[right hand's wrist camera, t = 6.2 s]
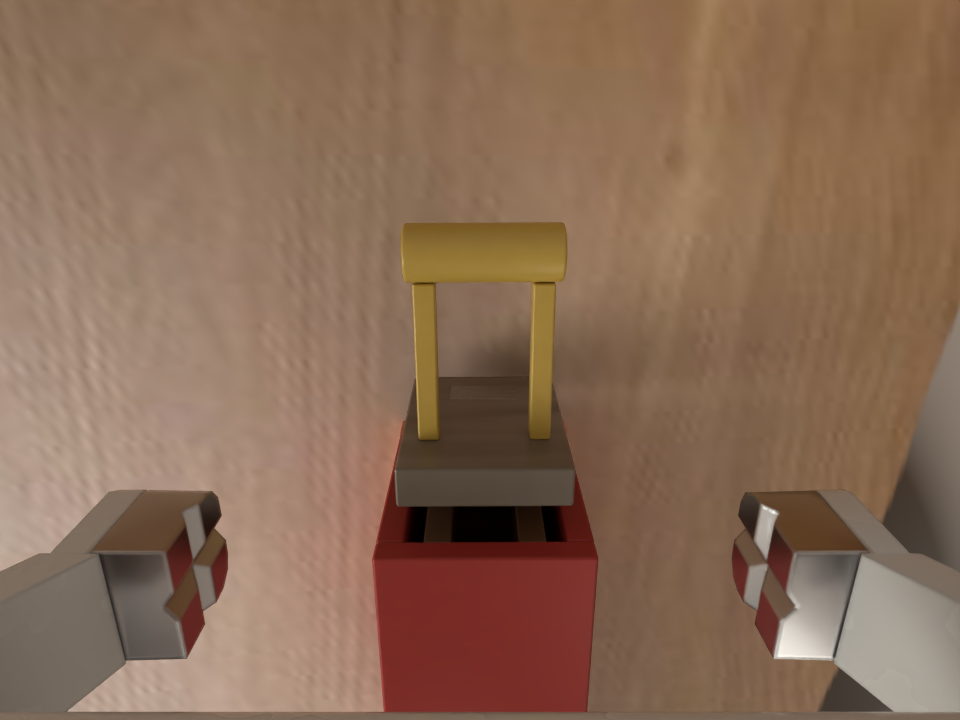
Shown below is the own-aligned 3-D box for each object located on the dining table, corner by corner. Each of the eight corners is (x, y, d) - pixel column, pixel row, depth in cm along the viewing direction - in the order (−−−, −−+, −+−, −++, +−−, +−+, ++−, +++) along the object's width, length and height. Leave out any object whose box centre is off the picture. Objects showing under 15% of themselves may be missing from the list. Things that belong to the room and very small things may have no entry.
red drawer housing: (402, 420, 25) (371, 558, 18) (562, 419, 25) (599, 557, 18) (420, 760, 32) (402, 966, 24) (547, 759, 32) (569, 965, 24)
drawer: (407, 199, 21) (380, 238, 15) (558, 198, 21) (589, 237, 15) (429, 725, 30) (418, 881, 24) (537, 725, 30) (553, 881, 24)
